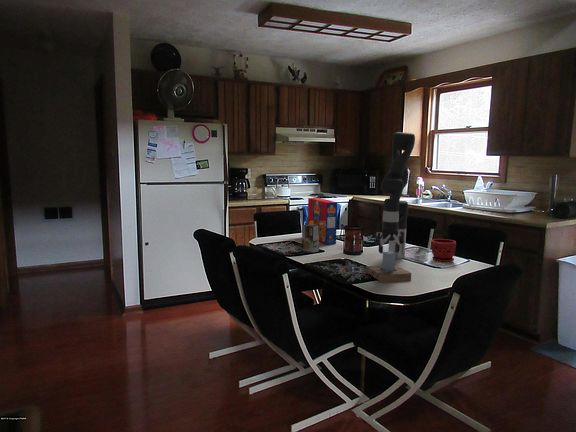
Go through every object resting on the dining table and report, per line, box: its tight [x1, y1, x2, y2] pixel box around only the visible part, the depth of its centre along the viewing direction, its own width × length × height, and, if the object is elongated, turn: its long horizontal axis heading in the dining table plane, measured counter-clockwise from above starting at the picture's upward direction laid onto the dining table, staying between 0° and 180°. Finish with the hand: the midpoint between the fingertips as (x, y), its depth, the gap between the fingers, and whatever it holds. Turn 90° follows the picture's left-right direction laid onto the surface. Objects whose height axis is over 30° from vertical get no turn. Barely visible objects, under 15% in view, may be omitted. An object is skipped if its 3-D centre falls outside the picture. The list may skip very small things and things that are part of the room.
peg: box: [381, 251, 396, 272], centre depth 205 cm, size 4×4×12 cm
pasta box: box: [307, 197, 338, 246], centre depth 286 cm, size 28×8×28 cm, turn 22°
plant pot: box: [430, 238, 457, 264], centre depth 236 cm, size 13×13×12 cm
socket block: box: [365, 264, 412, 283], centre depth 205 cm, size 16×16×4 cm
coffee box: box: [301, 223, 320, 253], centre depth 255 cm, size 9×6×16 cm
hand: (388, 252), depth 204 cm, fingers open, 8 cm apart
